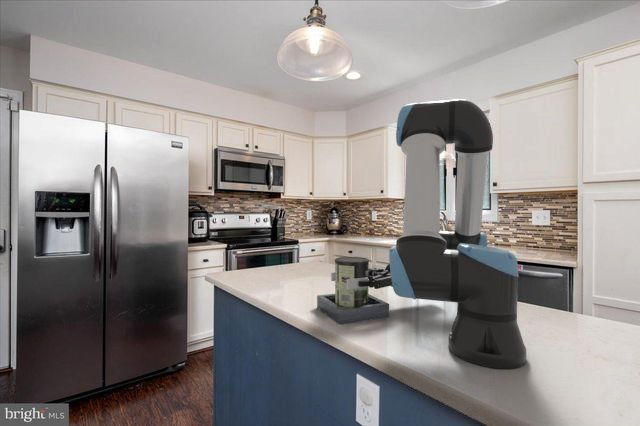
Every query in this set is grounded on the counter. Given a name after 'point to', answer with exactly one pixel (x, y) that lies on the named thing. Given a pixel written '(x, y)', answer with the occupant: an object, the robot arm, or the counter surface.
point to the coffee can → (350, 270)
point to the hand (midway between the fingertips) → (338, 280)
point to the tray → (352, 309)
